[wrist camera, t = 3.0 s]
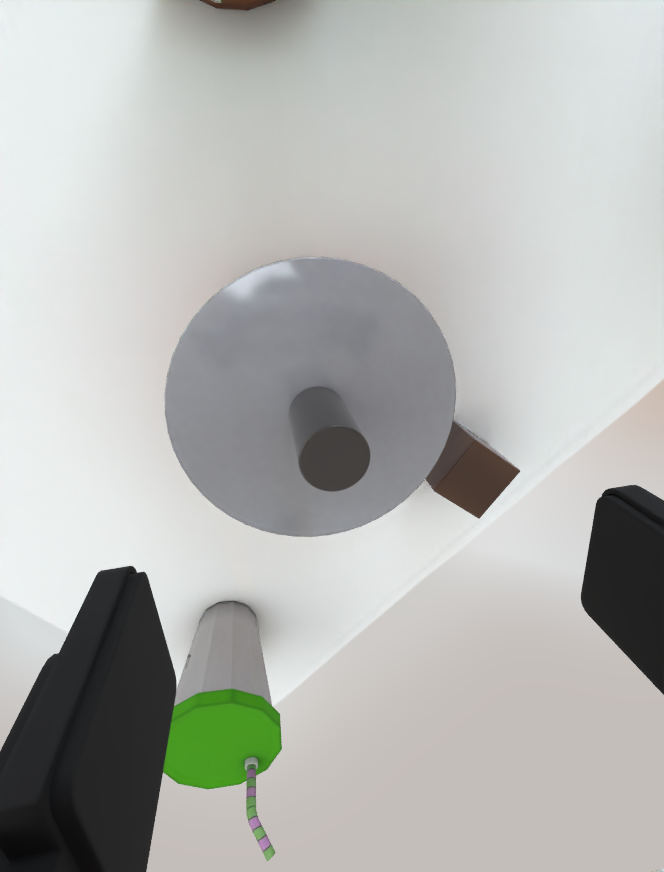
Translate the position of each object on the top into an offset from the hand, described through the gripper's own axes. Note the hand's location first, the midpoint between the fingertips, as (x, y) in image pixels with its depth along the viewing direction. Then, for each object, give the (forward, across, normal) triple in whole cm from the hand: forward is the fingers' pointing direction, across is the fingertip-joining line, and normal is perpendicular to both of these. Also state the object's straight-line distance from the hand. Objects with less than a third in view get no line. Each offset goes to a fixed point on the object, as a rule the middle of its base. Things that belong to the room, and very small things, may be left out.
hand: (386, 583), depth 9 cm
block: (+23, -11, +9) cm, 27 cm away
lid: (+13, 0, 0) cm, 13 cm away
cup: (+23, +8, +21) cm, 32 cm away
